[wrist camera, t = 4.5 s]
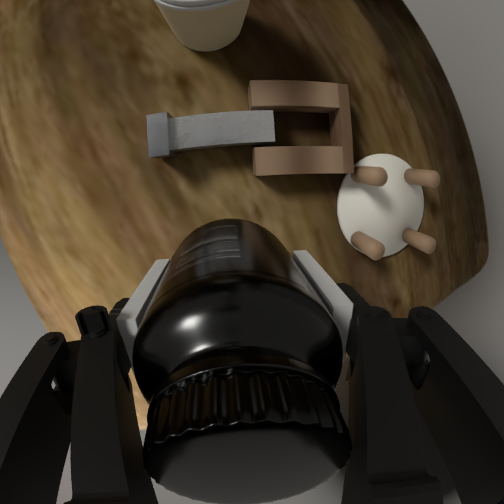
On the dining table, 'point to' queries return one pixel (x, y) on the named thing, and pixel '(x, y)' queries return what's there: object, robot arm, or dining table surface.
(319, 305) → the supplement bottle
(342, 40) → the dining table surface
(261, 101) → the slot block
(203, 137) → the pin
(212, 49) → the coffee cup
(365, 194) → the peg rack
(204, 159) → the dining table surface
